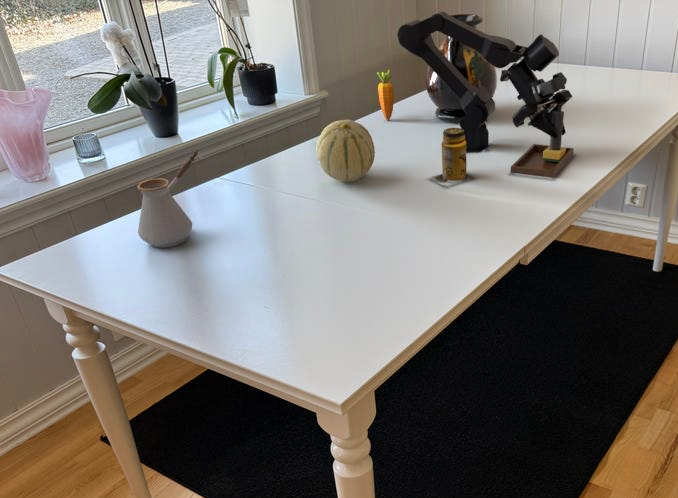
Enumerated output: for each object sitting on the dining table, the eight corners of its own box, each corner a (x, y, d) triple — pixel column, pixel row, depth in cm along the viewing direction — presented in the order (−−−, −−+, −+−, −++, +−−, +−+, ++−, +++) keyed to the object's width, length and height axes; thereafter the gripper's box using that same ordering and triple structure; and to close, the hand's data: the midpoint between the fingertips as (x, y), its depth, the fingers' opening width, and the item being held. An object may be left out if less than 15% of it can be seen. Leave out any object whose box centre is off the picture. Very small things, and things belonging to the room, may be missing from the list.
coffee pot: (171, 255, 146) (152, 187, 137) (130, 247, 150) (109, 180, 141) (233, 215, 161) (219, 152, 152) (194, 209, 165) (178, 147, 157)
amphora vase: (487, 129, 204) (488, 25, 188) (418, 125, 210) (413, 24, 194) (503, 108, 221) (505, 11, 204) (438, 105, 227) (436, 10, 210)
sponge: (559, 162, 176) (564, 114, 170) (542, 160, 177) (546, 113, 171) (565, 156, 180) (569, 110, 175) (548, 155, 182) (552, 109, 176)
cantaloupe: (352, 164, 185) (346, 107, 176) (389, 177, 176) (385, 117, 168) (308, 181, 177) (299, 121, 168) (344, 194, 168) (337, 133, 159)
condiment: (473, 179, 173) (473, 130, 166) (446, 187, 169) (444, 138, 162) (456, 171, 178) (455, 123, 171) (429, 179, 174) (427, 131, 167)
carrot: (377, 122, 215) (373, 71, 206) (384, 117, 218) (380, 67, 210) (392, 123, 213) (388, 72, 204) (398, 118, 217) (395, 68, 208)
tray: (552, 180, 169) (553, 171, 168) (510, 174, 174) (510, 166, 172) (573, 156, 182) (574, 148, 181) (533, 151, 187) (533, 143, 185)
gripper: (523, 71, 163) (559, 126, 163) (568, 55, 174) (602, 107, 174) (496, 100, 173) (531, 152, 172) (541, 84, 183) (573, 133, 183)
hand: (560, 135), depth 175 cm, fingers closed on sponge, 3 cm apart
